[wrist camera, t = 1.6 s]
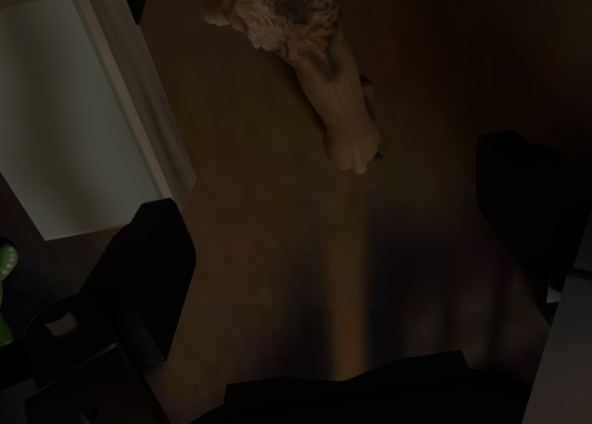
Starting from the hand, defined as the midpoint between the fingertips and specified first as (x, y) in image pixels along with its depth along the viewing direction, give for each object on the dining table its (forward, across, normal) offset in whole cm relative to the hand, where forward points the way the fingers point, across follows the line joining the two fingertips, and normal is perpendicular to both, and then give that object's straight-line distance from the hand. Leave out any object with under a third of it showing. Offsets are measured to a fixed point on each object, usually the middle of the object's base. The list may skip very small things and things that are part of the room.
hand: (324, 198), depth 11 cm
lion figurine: (+17, 0, 0) cm, 17 cm away
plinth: (+17, +14, 0) cm, 22 cm away
